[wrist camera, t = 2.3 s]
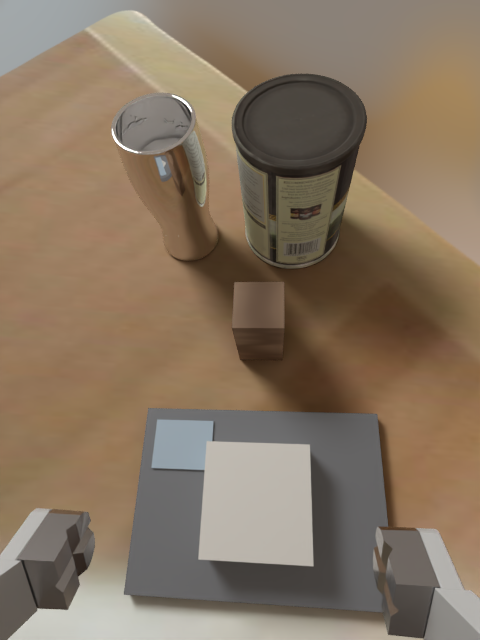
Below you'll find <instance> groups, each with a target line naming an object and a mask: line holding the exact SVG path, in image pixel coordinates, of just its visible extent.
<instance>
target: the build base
mask: <svg viewBox="0 0 480 640" xmlns="http://www.w3.org/2000/svg"><path fill="white" fill-rule="evenodd" d="M378 526H381V527H388V519H387V509H386V499H385V489H384V479H383V468H382V458H381V448H380V438H379V427H378V417H377V414H359V413H319V412H280V411H240V410H200V409H160V408H148V415H147V422H146V430H145V437H144V445H143V453H142V460H141V468H140V475H139V483H138V491H137V498H136V506H135V513H134V521H133V529H132V536H131V544H130V551H129V559H128V567H127V574H126V582H125V589H124V595H139V596H153V597H168V598H182V599H196V600H211V601H225V602H240V603H254V604H269V605H283V606H298V607H312V608H327V609H341V610H355V611H370V612H382V608H381V604H382V597H383V595H382V593H381V592H380V591H379V590H378V589H377V586H376V582H375V577H374V570H373V551H374V548H375V547H376V546H377V541H376V537H375V535H376V529H377V527H378Z"/></svg>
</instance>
